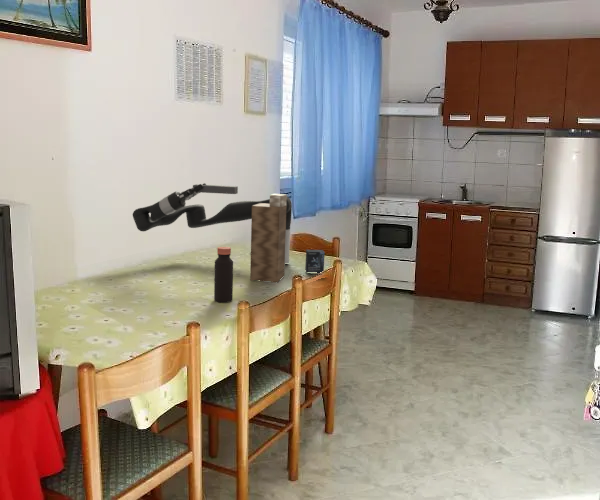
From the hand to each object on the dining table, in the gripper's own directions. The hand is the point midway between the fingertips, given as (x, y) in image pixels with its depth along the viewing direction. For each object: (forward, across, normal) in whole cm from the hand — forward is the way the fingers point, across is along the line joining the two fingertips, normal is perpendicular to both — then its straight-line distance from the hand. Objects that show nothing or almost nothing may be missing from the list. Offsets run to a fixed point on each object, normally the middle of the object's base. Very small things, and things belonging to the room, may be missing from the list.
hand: (204, 185), depth 277 cm
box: (+21, +18, +57) cm, 64 cm away
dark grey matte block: (+3, 0, +5) cm, 6 cm away
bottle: (+1, -42, +46) cm, 62 cm away
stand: (+6, 0, +48) cm, 49 cm away
